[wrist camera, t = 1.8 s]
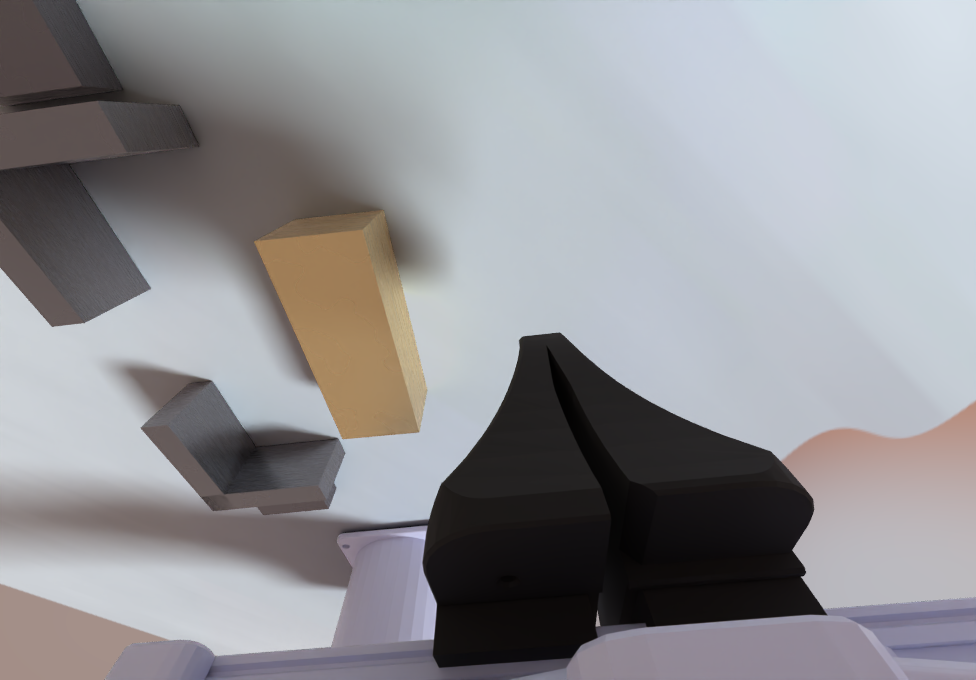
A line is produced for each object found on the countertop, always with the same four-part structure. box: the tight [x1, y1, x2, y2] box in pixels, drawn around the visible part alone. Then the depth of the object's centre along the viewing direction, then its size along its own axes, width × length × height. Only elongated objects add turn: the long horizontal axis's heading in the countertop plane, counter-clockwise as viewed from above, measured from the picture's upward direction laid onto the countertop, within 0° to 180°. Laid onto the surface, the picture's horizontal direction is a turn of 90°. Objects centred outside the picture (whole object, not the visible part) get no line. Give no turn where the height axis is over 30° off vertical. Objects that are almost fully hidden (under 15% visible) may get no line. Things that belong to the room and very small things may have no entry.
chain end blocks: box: [0, 0, 345, 515], centre depth 15 cm, size 23×6×3 cm, turn 6°
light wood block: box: [254, 210, 427, 439], centre depth 15 cm, size 9×4×3 cm, turn 6°
